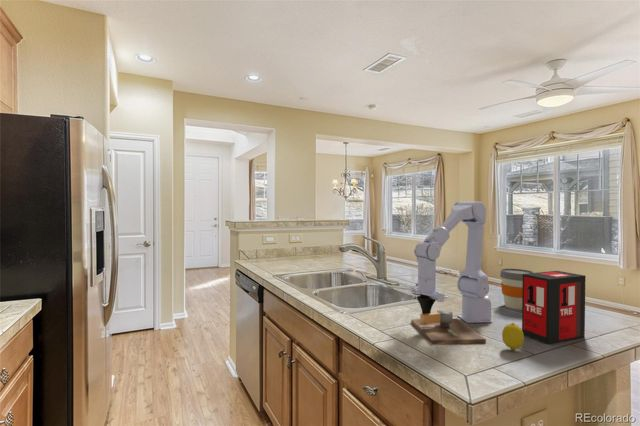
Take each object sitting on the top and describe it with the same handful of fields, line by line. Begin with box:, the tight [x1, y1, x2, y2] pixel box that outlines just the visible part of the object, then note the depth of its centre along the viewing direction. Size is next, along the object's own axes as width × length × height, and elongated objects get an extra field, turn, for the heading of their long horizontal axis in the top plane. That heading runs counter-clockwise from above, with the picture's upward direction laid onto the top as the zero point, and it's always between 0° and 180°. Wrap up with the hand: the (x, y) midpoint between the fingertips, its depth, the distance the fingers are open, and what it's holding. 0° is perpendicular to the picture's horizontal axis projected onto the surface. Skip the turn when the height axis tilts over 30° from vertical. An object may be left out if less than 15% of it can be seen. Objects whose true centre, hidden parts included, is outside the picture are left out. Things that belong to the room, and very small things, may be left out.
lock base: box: [410, 318, 487, 345], centre depth 112 cm, size 17×19×3 cm
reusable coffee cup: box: [499, 268, 535, 311], centre depth 142 cm, size 12×13×15 cm
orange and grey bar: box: [419, 309, 454, 325], centre depth 113 cm, size 12×5×3 cm, turn 108°
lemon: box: [501, 322, 525, 351], centre depth 98 cm, size 6×6×8 cm
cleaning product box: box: [521, 270, 586, 346], centre depth 109 cm, size 16×9×20 cm, turn 110°
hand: (426, 317), depth 114 cm, fingers closed, pressing on orange and grey bar
